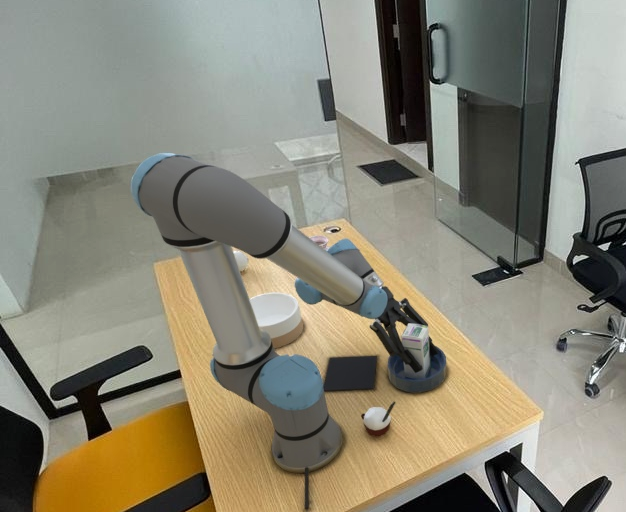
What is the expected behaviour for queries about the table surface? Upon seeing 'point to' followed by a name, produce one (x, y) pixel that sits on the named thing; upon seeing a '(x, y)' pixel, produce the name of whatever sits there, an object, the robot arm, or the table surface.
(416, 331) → the syrup box
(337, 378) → the mat
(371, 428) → the cocoa
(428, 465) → the table surface
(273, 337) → the bowl
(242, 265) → the white egg shape
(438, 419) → the table surface
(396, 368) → the serving bowl
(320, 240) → the teacup
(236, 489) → the table surface
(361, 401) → the table surface
